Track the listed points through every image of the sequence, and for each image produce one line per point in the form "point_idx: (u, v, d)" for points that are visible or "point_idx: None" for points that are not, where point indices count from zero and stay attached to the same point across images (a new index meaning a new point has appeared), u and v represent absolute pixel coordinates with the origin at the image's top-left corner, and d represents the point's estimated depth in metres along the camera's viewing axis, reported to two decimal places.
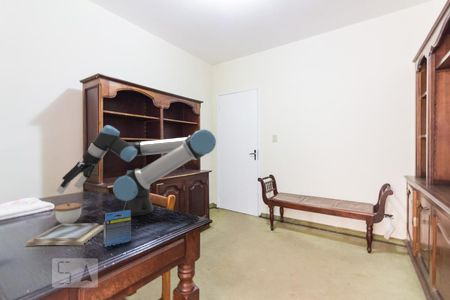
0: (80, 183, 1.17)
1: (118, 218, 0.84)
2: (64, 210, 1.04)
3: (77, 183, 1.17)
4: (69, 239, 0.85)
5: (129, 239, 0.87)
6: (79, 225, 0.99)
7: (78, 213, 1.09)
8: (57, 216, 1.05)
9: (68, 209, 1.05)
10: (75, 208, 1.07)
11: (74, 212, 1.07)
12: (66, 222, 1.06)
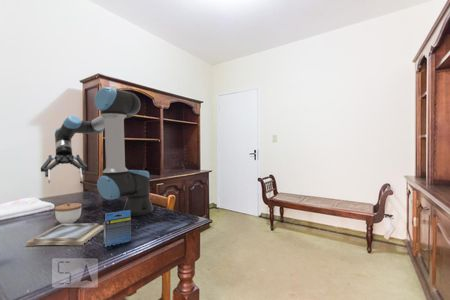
0: (80, 174, 1.23)
1: (118, 218, 0.84)
2: (64, 210, 1.04)
3: (80, 177, 1.23)
4: (69, 239, 0.85)
5: (129, 239, 0.87)
6: (79, 225, 0.99)
7: (78, 213, 1.09)
8: (57, 216, 1.05)
9: (68, 209, 1.05)
10: (75, 208, 1.07)
11: (74, 212, 1.07)
12: (66, 222, 1.06)
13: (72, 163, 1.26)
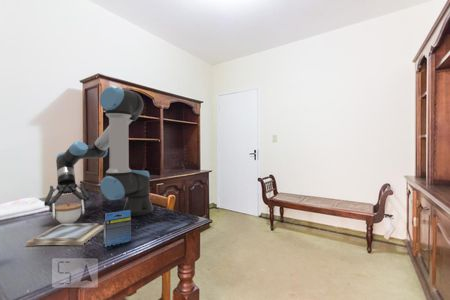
0: (81, 207, 1.12)
1: (118, 218, 0.84)
2: (64, 210, 1.04)
3: None
4: (69, 239, 0.85)
5: (129, 239, 0.87)
6: (79, 225, 0.99)
7: (78, 212, 1.09)
8: (57, 216, 1.05)
9: (68, 209, 1.05)
10: (75, 208, 1.07)
11: (74, 212, 1.07)
12: (66, 222, 1.06)
13: (74, 193, 1.16)
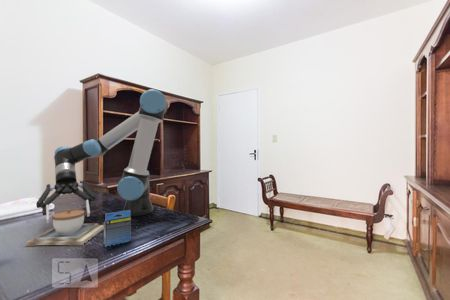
0: (86, 208, 0.95)
1: (118, 218, 0.84)
2: (64, 219, 0.87)
3: None
4: (69, 239, 0.85)
5: (129, 239, 0.87)
6: None
7: (80, 221, 0.91)
8: (55, 226, 0.88)
9: (68, 217, 0.88)
10: (77, 216, 0.90)
11: (76, 221, 0.90)
12: (66, 233, 0.89)
13: (76, 193, 0.99)
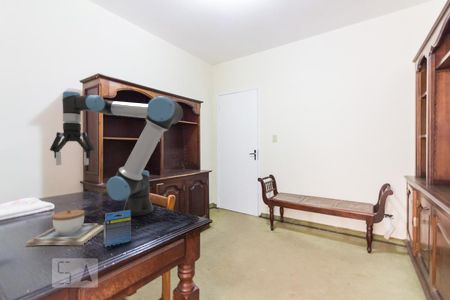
0: None
1: (118, 218, 0.84)
2: (64, 219, 0.87)
3: None
4: (69, 239, 0.85)
5: (129, 239, 0.87)
6: None
7: (80, 221, 0.91)
8: (55, 226, 0.87)
9: (68, 217, 0.88)
10: (77, 216, 0.90)
11: (76, 221, 0.90)
12: (66, 233, 0.89)
13: None
